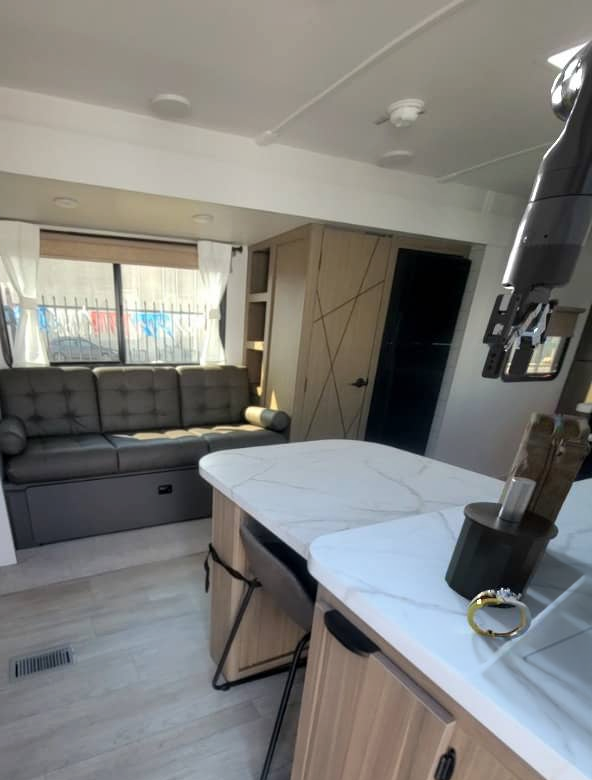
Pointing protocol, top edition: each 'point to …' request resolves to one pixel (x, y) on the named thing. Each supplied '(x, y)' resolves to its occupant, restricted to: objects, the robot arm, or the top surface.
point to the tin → (492, 563)
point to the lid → (512, 515)
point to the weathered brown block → (550, 460)
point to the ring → (502, 597)
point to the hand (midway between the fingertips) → (503, 376)
